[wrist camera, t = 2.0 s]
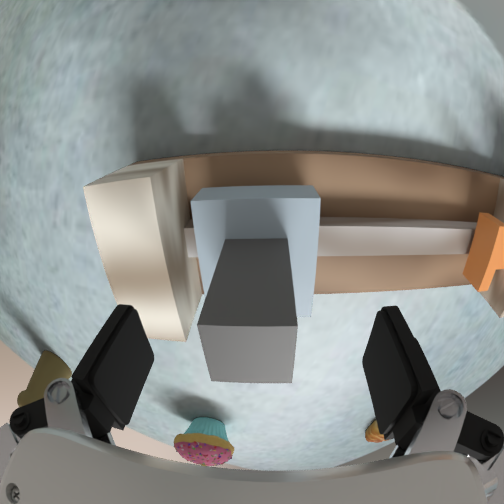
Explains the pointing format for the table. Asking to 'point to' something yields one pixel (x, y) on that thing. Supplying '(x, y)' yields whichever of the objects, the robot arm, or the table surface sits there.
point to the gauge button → (485, 252)
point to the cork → (43, 377)
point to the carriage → (255, 277)
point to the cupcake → (204, 442)
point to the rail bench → (362, 198)
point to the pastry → (374, 433)
